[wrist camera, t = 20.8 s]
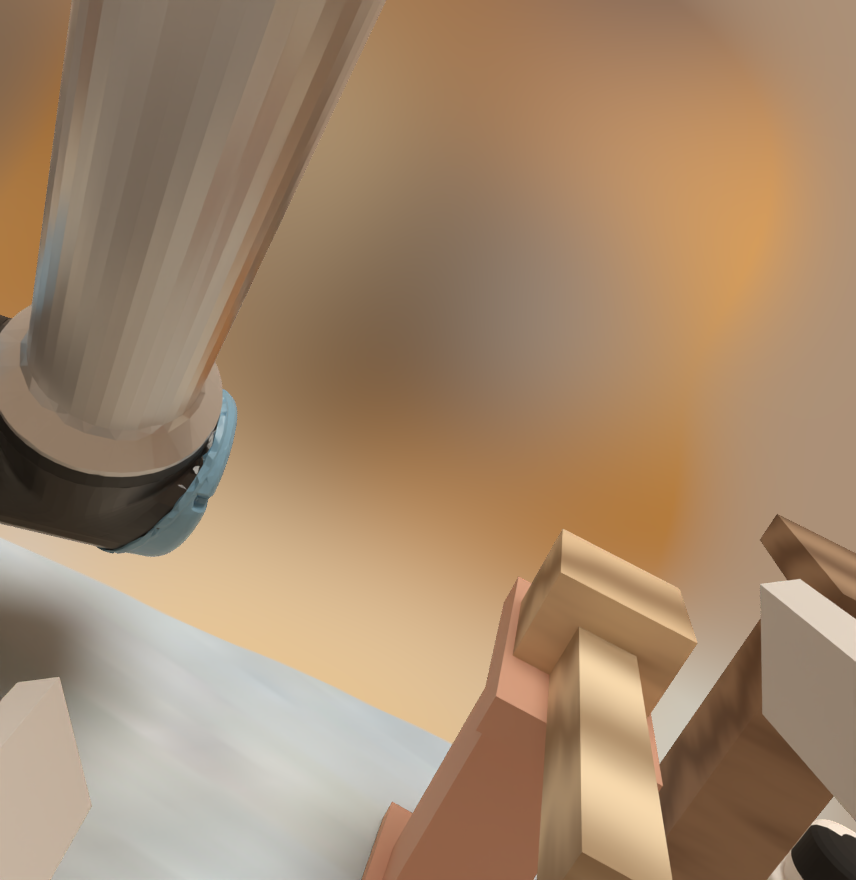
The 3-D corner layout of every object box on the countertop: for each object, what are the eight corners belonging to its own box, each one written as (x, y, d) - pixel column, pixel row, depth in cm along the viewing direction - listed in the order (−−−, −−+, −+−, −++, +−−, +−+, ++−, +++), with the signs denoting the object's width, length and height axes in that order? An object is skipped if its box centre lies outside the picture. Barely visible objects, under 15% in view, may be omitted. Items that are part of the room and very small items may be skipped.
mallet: (521, 601, 41) (562, 528, 40) (633, 660, 41) (679, 588, 39) (475, 888, 22) (551, 767, 21) (685, 1006, 22) (779, 890, 20)
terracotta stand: (383, 817, 50) (518, 576, 44) (487, 875, 49) (638, 639, 44) (319, 998, 38) (496, 696, 32) (457, 1078, 37) (662, 786, 31)
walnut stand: (555, 845, 55) (777, 513, 46) (664, 906, 54) (909, 580, 46) (550, 997, 43) (843, 594, 35) (688, 1076, 43) (1022, 684, 34)
